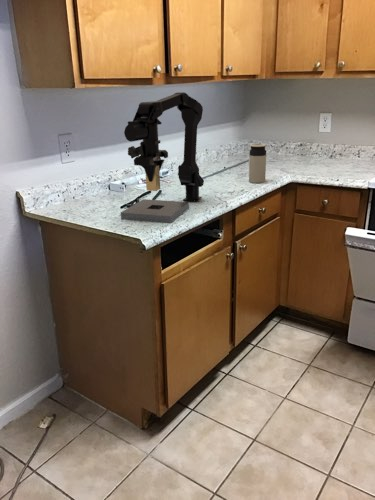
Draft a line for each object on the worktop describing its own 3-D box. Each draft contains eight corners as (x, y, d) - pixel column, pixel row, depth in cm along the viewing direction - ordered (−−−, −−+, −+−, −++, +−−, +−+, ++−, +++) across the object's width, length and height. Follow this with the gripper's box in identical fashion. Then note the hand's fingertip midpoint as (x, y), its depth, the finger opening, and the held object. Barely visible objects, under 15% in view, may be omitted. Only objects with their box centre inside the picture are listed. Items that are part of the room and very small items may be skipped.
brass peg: (150, 188, 171) (149, 164, 167) (160, 188, 169) (159, 165, 166) (146, 190, 167) (145, 166, 164) (156, 191, 166) (154, 167, 163)
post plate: (143, 205, 183) (143, 199, 182) (189, 208, 177) (188, 202, 176) (121, 218, 166) (120, 212, 165) (170, 222, 159) (170, 216, 158)
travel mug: (252, 184, 213) (252, 146, 207) (246, 180, 221) (247, 144, 214) (267, 182, 215) (268, 145, 208) (261, 179, 222) (263, 143, 216)
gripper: (141, 134, 172) (143, 174, 178) (118, 141, 156) (122, 184, 161) (167, 135, 169) (169, 175, 174) (147, 141, 152) (150, 186, 158)
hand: (153, 180), depth 167 cm, fingers closed on brass peg, 4 cm apart
